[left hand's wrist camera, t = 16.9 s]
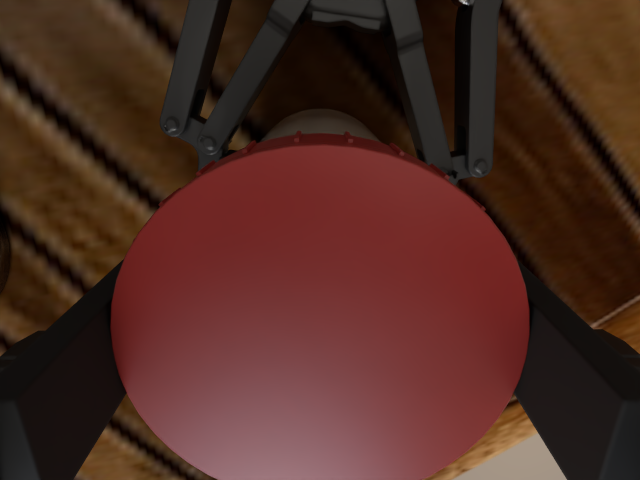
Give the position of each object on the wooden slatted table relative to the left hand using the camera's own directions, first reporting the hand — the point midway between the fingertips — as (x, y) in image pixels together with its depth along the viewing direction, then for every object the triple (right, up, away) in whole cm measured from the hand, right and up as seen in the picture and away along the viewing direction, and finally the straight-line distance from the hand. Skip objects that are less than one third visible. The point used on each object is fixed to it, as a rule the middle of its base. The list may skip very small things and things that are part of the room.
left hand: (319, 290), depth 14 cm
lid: (0, -1, -3) cm, 3 cm away
